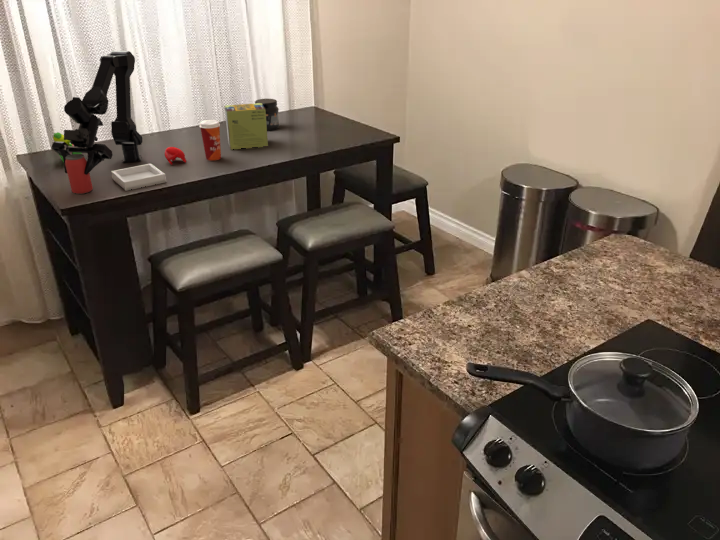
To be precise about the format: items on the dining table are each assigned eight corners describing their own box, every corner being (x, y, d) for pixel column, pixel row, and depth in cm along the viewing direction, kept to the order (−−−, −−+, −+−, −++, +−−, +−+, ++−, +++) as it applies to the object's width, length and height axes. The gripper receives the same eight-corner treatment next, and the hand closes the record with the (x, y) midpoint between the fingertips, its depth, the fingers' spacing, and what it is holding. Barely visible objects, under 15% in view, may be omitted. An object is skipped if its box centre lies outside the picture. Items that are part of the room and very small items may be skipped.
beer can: (93, 186, 206) (86, 152, 200) (92, 193, 201) (84, 158, 195) (72, 188, 204) (64, 154, 199) (71, 195, 199) (62, 160, 193)
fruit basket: (82, 164, 226) (75, 135, 221) (56, 166, 224) (49, 136, 219) (85, 155, 236) (79, 126, 231) (61, 157, 234) (54, 128, 228)
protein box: (268, 146, 247) (265, 108, 239) (230, 150, 243) (226, 111, 235) (264, 139, 255) (261, 102, 248) (227, 142, 251) (223, 105, 244)
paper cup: (216, 162, 229) (212, 125, 222) (199, 160, 231) (194, 123, 225) (227, 156, 235) (223, 120, 229) (210, 154, 238) (206, 118, 231)
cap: (161, 157, 223) (174, 149, 222) (161, 148, 227) (174, 140, 226) (176, 171, 229) (189, 163, 228) (176, 161, 233) (188, 153, 232)
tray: (112, 179, 213) (111, 171, 211) (151, 171, 220) (150, 163, 218) (125, 190, 203) (124, 182, 201) (166, 182, 210) (165, 173, 209)
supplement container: (251, 127, 272) (249, 100, 267) (272, 123, 278) (270, 97, 272) (263, 132, 265) (261, 104, 259) (284, 128, 270) (282, 101, 265)
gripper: (47, 117, 196) (34, 160, 192) (100, 119, 193) (88, 164, 189) (67, 134, 207) (55, 176, 202) (117, 137, 204) (107, 179, 200)
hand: (75, 173), depth 198 cm, fingers closed on beer can, 6 cm apart
